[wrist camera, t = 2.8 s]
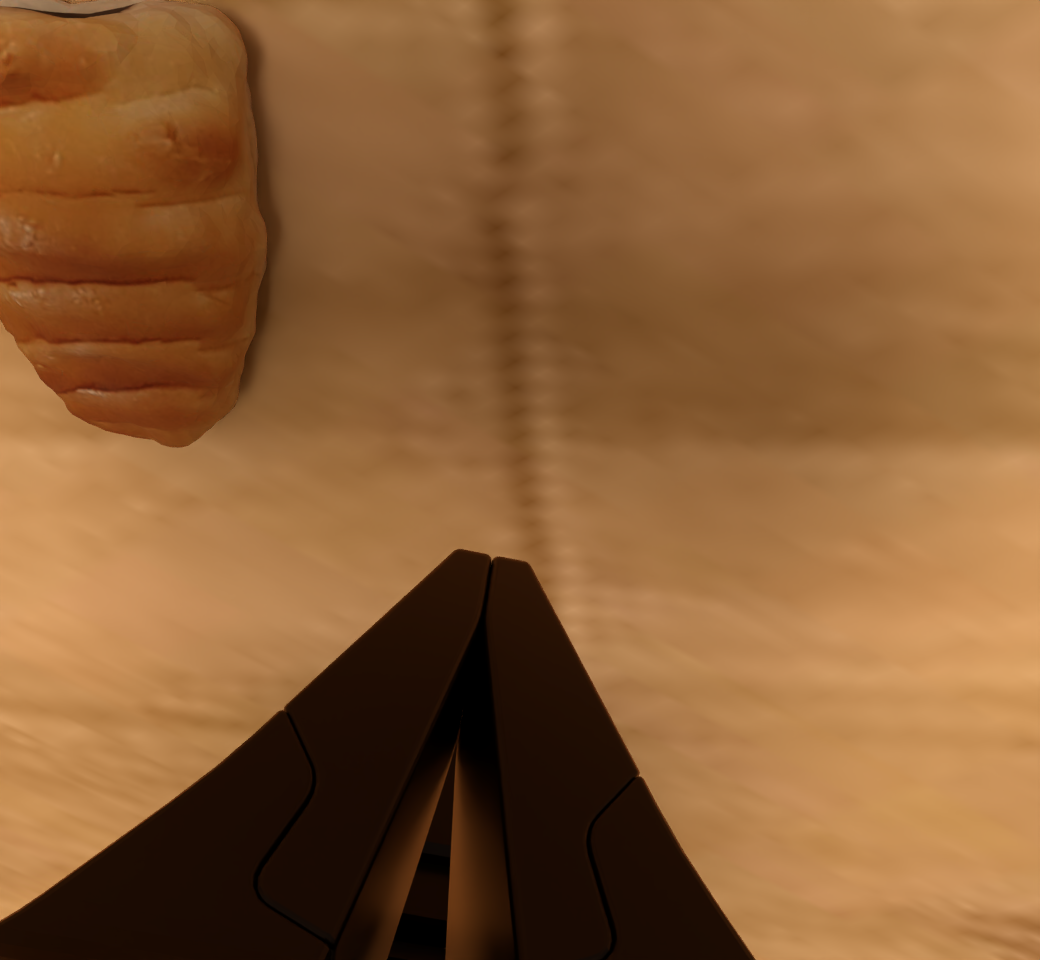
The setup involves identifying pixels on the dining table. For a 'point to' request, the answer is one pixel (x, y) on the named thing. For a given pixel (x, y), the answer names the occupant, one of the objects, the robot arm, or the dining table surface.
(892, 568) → the dining table surface
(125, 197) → the pastry
